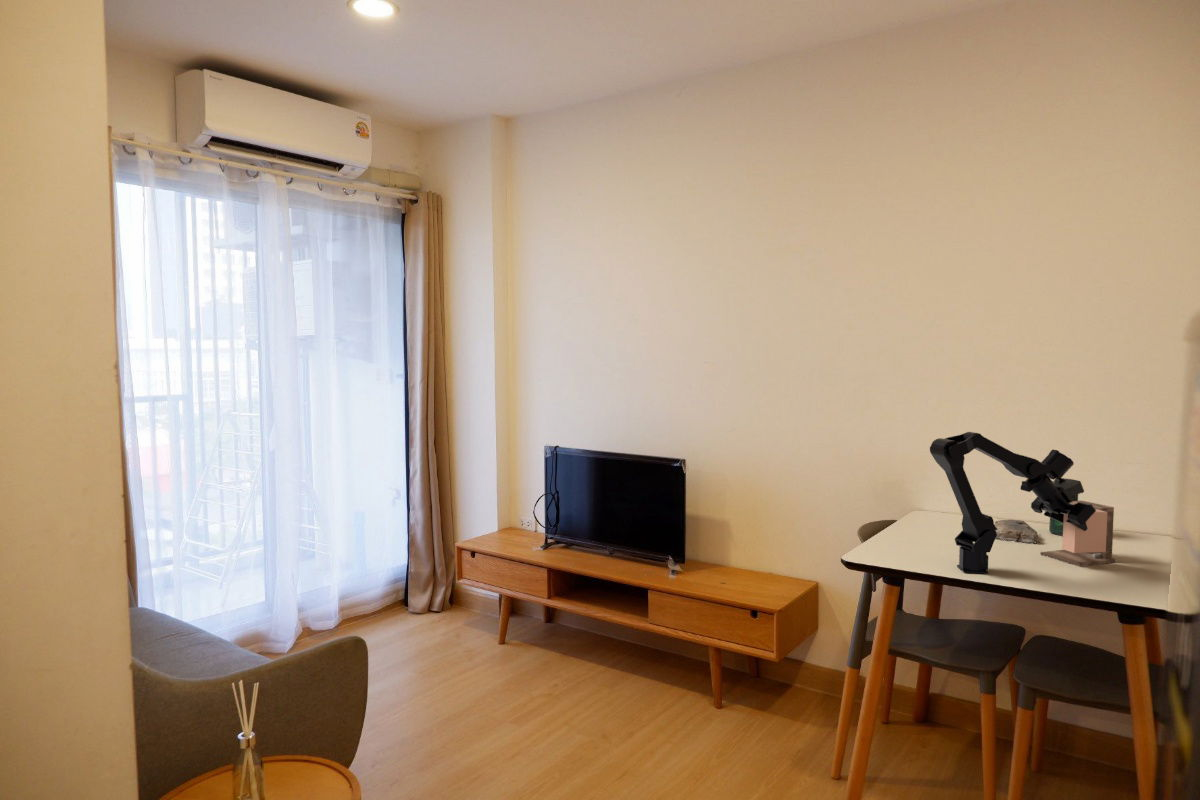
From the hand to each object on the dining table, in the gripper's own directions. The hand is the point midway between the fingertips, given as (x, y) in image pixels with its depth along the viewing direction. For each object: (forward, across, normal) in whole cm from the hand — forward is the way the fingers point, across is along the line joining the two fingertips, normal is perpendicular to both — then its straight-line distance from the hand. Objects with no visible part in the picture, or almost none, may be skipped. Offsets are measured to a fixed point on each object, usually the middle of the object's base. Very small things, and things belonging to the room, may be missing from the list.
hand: (1079, 527), depth 215 cm
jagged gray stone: (+12, +35, +4) cm, 37 cm away
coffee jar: (+25, +35, -10) cm, 44 cm away
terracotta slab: (+6, 0, +4) cm, 7 cm away
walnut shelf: (+11, +6, +4) cm, 14 cm away
